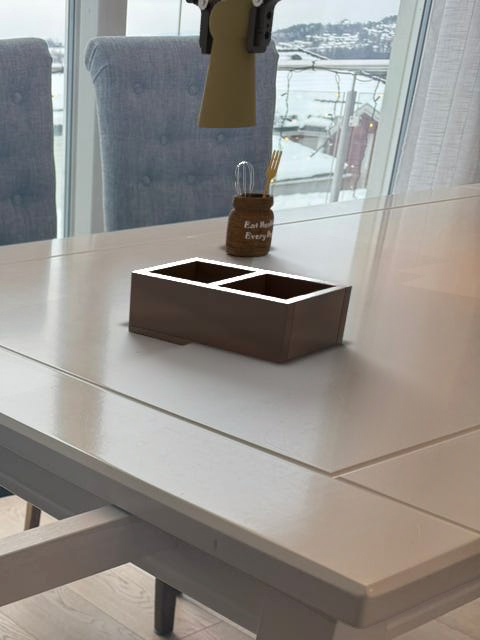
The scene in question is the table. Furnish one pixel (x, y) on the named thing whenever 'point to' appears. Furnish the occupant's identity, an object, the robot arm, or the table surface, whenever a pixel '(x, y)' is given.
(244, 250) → the utensil holder
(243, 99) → the cork
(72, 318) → the table surface
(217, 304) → the holder
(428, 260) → the table surface
